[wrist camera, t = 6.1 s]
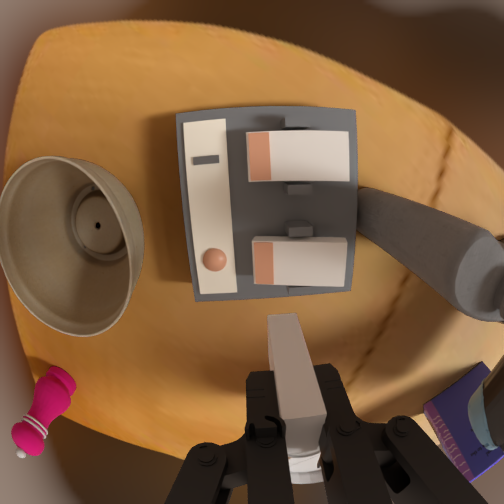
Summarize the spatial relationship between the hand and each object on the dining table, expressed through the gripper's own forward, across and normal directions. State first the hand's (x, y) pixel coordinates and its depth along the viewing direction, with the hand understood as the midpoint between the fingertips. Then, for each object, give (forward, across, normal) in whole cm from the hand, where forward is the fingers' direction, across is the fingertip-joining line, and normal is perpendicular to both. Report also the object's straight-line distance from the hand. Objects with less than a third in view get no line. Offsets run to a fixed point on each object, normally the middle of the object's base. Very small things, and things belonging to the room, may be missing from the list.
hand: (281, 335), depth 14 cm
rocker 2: (+10, -3, 0) cm, 11 cm away
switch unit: (+16, -1, -5) cm, 17 cm away
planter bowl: (+16, +18, -4) cm, 24 cm away
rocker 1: (+10, -3, -9) cm, 14 cm away
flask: (+16, -16, -2) cm, 23 cm away
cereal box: (+17, -43, +36) cm, 59 cm away
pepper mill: (+16, +37, +23) cm, 47 cm away
